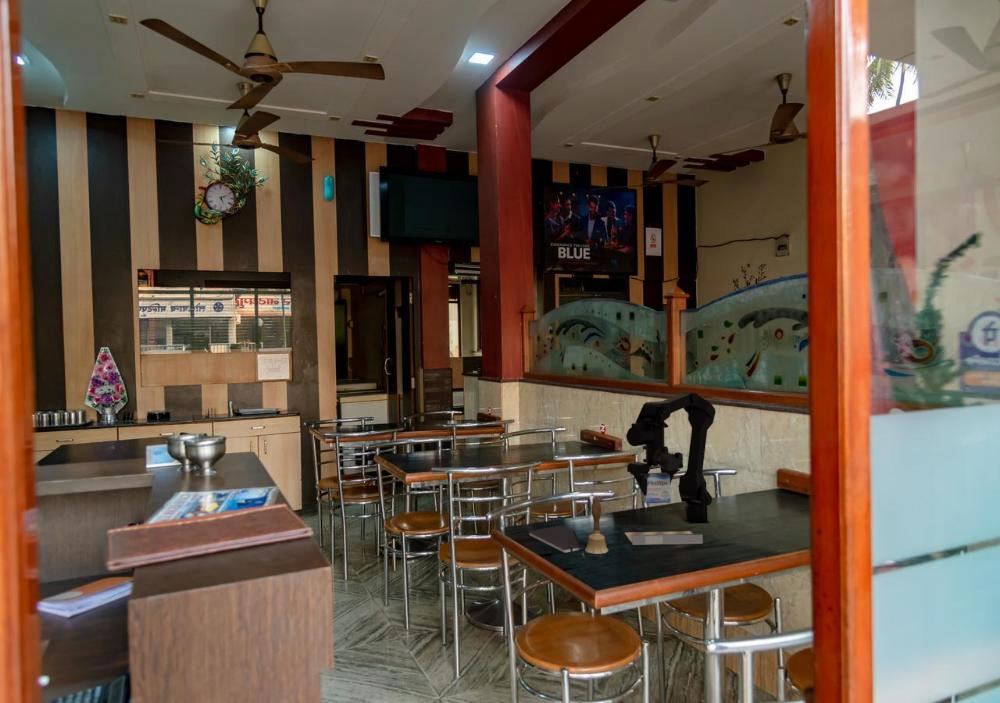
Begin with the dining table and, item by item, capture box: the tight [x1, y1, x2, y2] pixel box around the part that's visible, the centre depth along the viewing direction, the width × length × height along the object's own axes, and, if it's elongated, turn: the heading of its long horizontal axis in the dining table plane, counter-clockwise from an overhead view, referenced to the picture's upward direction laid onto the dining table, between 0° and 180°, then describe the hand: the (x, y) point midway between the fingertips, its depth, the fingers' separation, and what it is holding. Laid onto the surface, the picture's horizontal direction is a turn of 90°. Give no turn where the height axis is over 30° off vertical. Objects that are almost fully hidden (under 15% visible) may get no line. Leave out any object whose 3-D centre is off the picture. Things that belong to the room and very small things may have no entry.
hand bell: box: [581, 497, 609, 558], centre depth 175 cm, size 8×8×16 cm
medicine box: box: [641, 472, 671, 505], centre depth 193 cm, size 8×4×9 cm, turn 93°
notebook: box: [528, 525, 583, 553], centre depth 190 cm, size 13×2×21 cm
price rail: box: [631, 533, 704, 546], centre depth 179 cm, size 20×1×2 cm, turn 90°
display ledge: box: [624, 530, 700, 546], centre depth 184 cm, size 20×12×2 cm, turn 90°
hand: (655, 493), depth 193 cm, fingers closed on medicine box, 9 cm apart
